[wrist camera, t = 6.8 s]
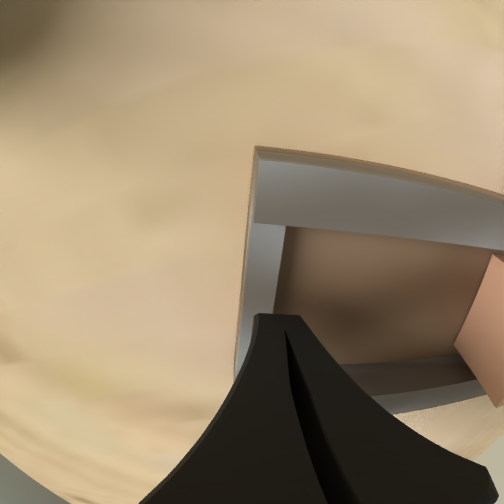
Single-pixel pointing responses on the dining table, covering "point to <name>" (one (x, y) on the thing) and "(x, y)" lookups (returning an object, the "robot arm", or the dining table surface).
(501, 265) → the salmon orange block
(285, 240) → the grey rectangular tray
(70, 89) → the dining table surface
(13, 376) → the dining table surface
